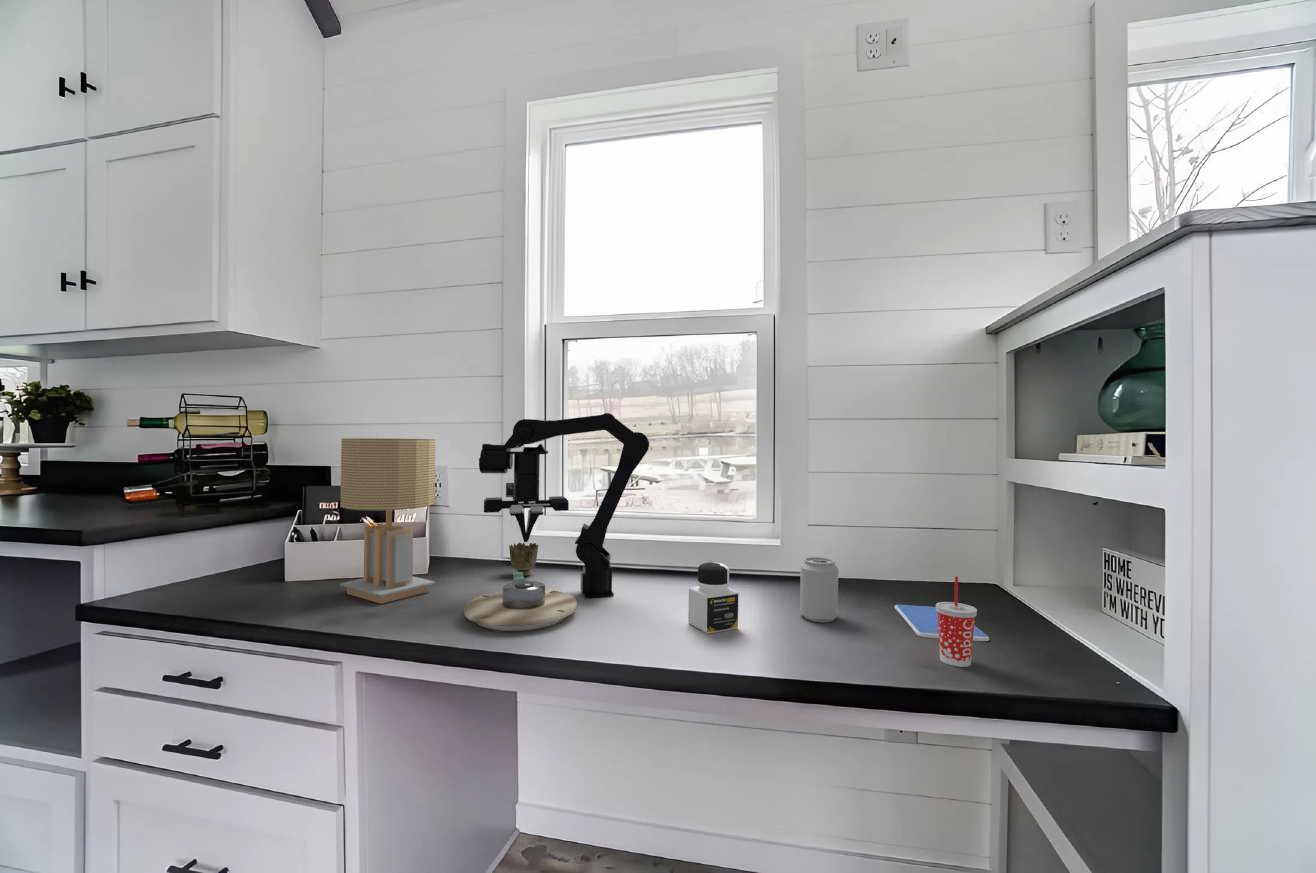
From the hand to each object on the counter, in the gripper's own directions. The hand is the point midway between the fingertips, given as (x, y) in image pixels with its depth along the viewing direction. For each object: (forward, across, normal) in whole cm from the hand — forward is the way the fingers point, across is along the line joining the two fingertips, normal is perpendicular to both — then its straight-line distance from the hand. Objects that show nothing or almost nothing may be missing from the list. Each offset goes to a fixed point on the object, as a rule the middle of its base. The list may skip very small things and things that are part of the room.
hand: (525, 541), depth 131 cm
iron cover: (+10, +2, +16) cm, 19 cm away
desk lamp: (+12, +30, -9) cm, 34 cm away
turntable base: (+12, +2, +16) cm, 20 cm away
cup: (+12, -1, -18) cm, 22 cm away
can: (+12, -56, +33) cm, 66 cm away
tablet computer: (+13, -78, +42) cm, 89 cm away
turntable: (+10, +2, +16) cm, 19 cm away
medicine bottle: (+12, -33, +32) cm, 48 cm away
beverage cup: (+12, -65, +59) cm, 89 cm away
